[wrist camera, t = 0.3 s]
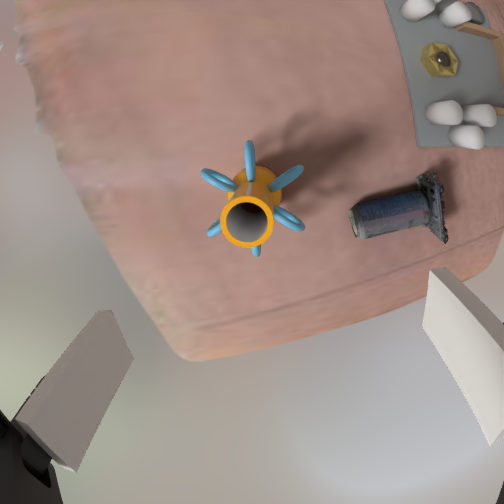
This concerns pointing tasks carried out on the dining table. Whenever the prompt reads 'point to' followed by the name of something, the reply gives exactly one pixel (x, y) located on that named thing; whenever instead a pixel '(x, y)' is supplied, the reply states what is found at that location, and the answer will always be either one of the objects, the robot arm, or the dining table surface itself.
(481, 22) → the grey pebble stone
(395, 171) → the dining table surface
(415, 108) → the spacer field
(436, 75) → the nut
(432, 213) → the dark piece
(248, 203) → the cylinder
